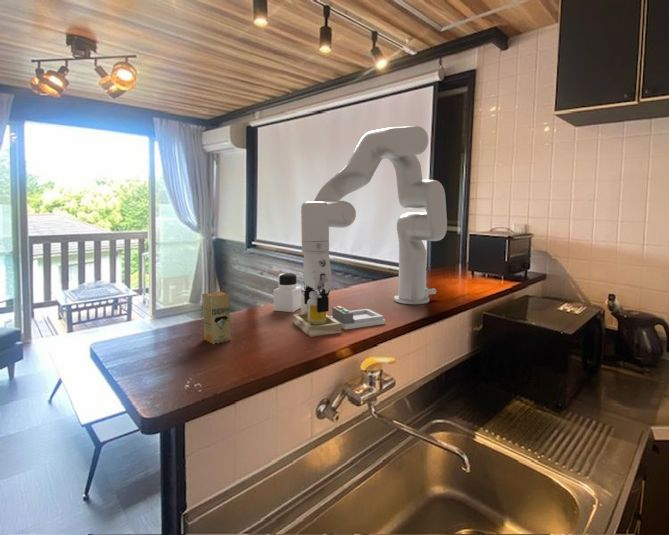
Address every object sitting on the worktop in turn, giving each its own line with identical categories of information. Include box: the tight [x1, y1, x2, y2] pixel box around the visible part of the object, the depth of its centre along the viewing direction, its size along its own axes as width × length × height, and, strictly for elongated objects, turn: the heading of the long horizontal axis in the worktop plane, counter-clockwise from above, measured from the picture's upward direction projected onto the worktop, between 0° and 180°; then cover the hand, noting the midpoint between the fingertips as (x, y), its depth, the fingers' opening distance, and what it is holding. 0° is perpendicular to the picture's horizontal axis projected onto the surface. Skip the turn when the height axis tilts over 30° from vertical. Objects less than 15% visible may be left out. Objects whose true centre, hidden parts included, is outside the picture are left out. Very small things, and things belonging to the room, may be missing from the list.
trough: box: [292, 313, 342, 338], centre depth 113 cm, size 14×9×2 cm, turn 24°
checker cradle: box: [329, 305, 386, 330], centre depth 118 cm, size 13×10×5 cm
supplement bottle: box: [307, 290, 327, 326], centre depth 112 cm, size 5×5×10 cm
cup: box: [300, 292, 307, 314], centre depth 124 cm, size 7×7×7 cm
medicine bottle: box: [272, 272, 303, 313], centre depth 133 cm, size 7×7×12 cm
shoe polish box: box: [201, 291, 232, 345], centre depth 102 cm, size 5×5×12 cm
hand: (316, 307), depth 113 cm, fingers open, 9 cm apart
